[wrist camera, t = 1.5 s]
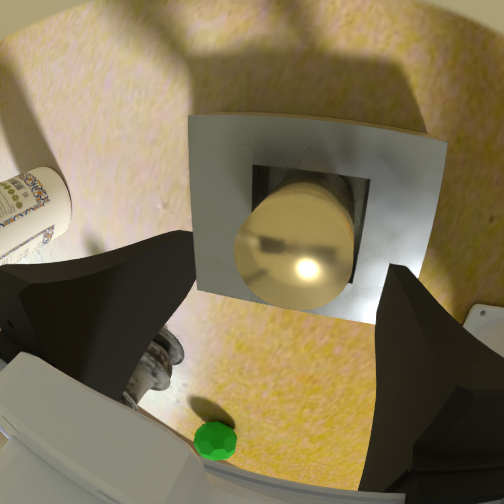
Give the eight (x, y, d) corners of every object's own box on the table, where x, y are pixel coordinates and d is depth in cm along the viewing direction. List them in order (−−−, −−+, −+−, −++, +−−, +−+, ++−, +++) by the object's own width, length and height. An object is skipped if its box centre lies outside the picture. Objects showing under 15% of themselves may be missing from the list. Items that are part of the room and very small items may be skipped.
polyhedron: (218, 410, 32) (201, 443, 28) (251, 432, 32) (237, 465, 28) (196, 419, 34) (180, 448, 30) (226, 439, 35) (213, 469, 31)
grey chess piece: (152, 311, 27) (69, 406, 17) (198, 355, 28) (132, 458, 18) (127, 334, 30) (57, 414, 20) (168, 372, 31) (108, 458, 21)
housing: (427, 133, 14) (447, 142, 11) (396, 288, 19) (400, 327, 16) (220, 111, 17) (188, 115, 14) (222, 259, 22) (197, 289, 19)
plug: (359, 172, 16) (362, 212, 10) (348, 249, 18) (341, 319, 12) (275, 162, 17) (233, 195, 11) (272, 237, 19) (234, 298, 13)
